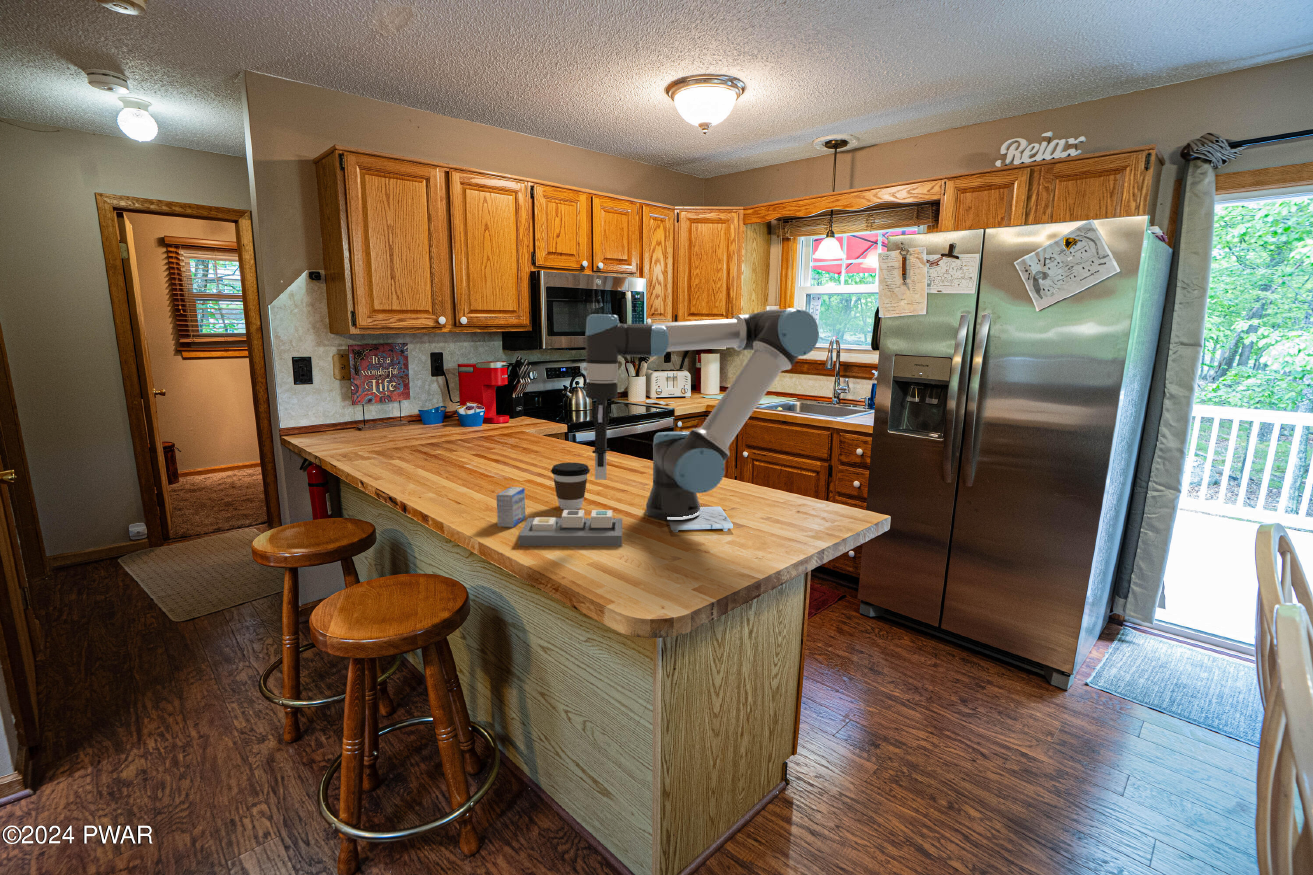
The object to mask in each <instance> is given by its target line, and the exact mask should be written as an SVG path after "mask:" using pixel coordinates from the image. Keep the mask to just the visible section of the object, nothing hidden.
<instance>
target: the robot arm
mask: <svg viewBox="0 0 1313 875" xmlns="http://www.w3.org/2000/svg"><path fill="white" fill-rule="evenodd" d="M584 336H585V366H583V368H582V371H583V372H585V379H586V380H587V381H586V383H585V397H586V398H587V399H591V400H595V404H593V406H592V414H593V425H594V450H592V451H591V452H592V454H594V480H595V481H596V480H598V481H602V480H603V481H605V480H607V467H608V466H607V464H608V462H607V461H608V460H607V459H608V458H607V456H608V454H607V452H610V447H609V448H607V446H608V443H607V441H608V440H607V439H608V431H607V430H608V425H609V422H610V420H609V418H610V417H609V416H610V411H611V410H610V409H611V406H610V405H608V403H607V402H608V401H607V400H614V399H617V398H618V389H619V388H618V383H617V382H616V381H617V380H618V379H619V357H649V358H650V357H651V358H655V357H663V356H665V355H666V353H667V352H675V351H676V352H678V351H679V352H680V351H694V350H708V349H725V348H733V349H735V350H736V351H752V354H751V356H750V357H749V358H748V360H747V361H746V363H745V364H744V365H743V367H742V368H741V369H740V371H739V373H738V374H737V375H736V377H735V378H734V379H733V381H732V382H731V383H730V385H729V386H728V388H727V389H726V391H725V392H724V394H723V395H722V397H721V398H720V399H719V401H718V402H717V404H716V405H715V407H714V408H713V409H712V411H711V412H710V414H709V415H708V417H706V419H705V421H704V422H703V423H702V425H701V426H700V427H696V428H695V427H694V428H692V429H691V430H690V431H664V432H663V431H662V432H657V433H656V434H655V435H654V436H653V443H652V448H653V451H652V454H653V455H652V458H653V459H652V486H651V490H650V493H649V496H648V498H647V502H646V503H645V504H646V506H645V513H646V515H647V516H649V517H651V518H653V519H657V520H662V521H668V520H667V517H683V516H689V515H693V514H695V513H697V512H698V511H699V510H700V511H701V504H700V501H699V498H698V494H703V493H708V492H710V491H712V490H714V489H715V488H717V486H718V485H719V484H720V483H721V482H722V481H723V478H724V476H725V472H726V470H725V466H726V465H725V462H726V461H727V460H728V458H729V457H730V450H729V447H730V445H731V444H732V442H733V440H735V437H736V436H737V435H738V434H739V432H740V431H741V429H742V428H743V427H744V425H745V423H746V422H747V421H748V419H749V418H750V416H752V414H753V412H754V411H755V409H756V408H757V406H758V405H759V404H760V402H761V401H762V399H763V398H764V397H765V395H766V393H767V392H768V391H769V390H770V388H771V386H772V385H773V384H774V383H775V381H776V379H777V378H778V376H779V375H780V374H781V372H782V371H786V370H790V369H792V367H793V366H794V364H795V363H796V361H797V360H798V359H799V357H804V356H807V355H808V354H810V353H812V351H813V350H814V349H815V347H816V346H817V344H818V341H819V336H820V332H819V324H818V322H817V321H816V319H815V317H814V316H813V314H811V313H810V312H809V311H807V310H805V309H802V308H796V307H790V308H784V309H778V308H777V309H767V310H762V311H759V312H753V313H747V314H735V315H734V317H733V318H731V319H730V318H728V319H727V318H725V319H712V320H711V319H710V320H709V319H707V320H705V319H704V320H689V321H668V322H654V323H653V322H652V323H633V324H631V323H629V324H628V323H620V321H619V316H618V315H616V314H602V313H601V314H599V313H598V314H595V313H594V314H589V315H588V316H587V317H586V324H585V334H584Z"/></svg>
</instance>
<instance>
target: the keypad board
mask: <svg viewBox="0 0 1313 875" xmlns="http://www.w3.org/2000/svg"><path fill="white" fill-rule="evenodd" d="M535 518H536V517H528V518H527V519H526V521H525V523H524V524H523V527H522V529H521V531H520V533H519V535H518V546H519V547H622V546H623V518H621V517H620V518H619V517H617V518H616V517H615V518H613V517H612V528H591V517H584V524H583V528H577V527H562V517H555V518H556V530H555V531H532V524H533V522H534V520H535Z"/></svg>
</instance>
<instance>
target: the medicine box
mask: <svg viewBox="0 0 1313 875" xmlns="http://www.w3.org/2000/svg"><path fill="white" fill-rule="evenodd" d="M525 490H526V489H525V487H517V486H515V487H514V486H512V487H508V488H507V489H505V490H503V491H501V492H499V493H498V494H496V516H497V518H496V519H497V527H501V528H502V527H503V528H511V529H512V528H515V527H516V526H518V525H519V524H521V522H523V521H524V520H525V519H526V492H525Z"/></svg>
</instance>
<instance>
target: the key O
mask: <svg viewBox="0 0 1313 875" xmlns="http://www.w3.org/2000/svg"><path fill="white" fill-rule="evenodd" d="M590 518H591V528H612V518H613V509H611V510H610V509H592V510H591V514H590Z"/></svg>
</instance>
